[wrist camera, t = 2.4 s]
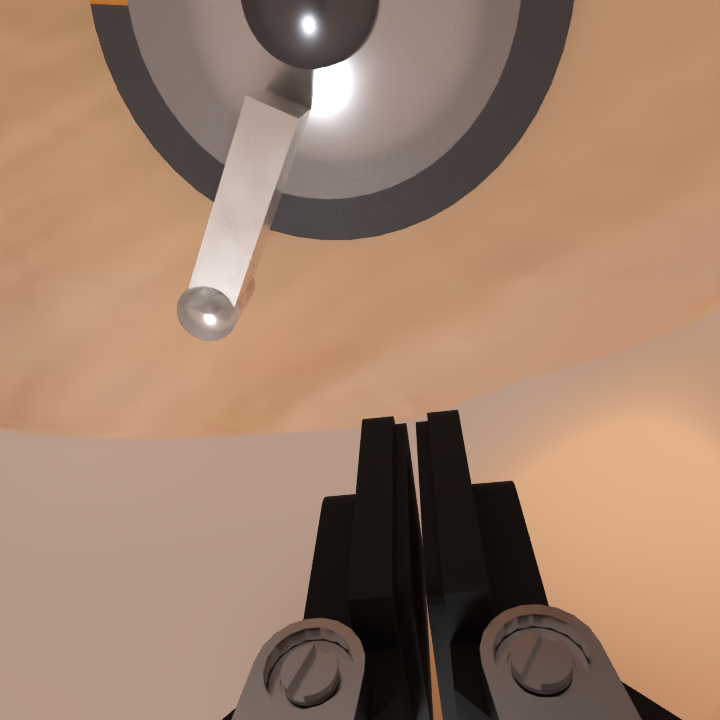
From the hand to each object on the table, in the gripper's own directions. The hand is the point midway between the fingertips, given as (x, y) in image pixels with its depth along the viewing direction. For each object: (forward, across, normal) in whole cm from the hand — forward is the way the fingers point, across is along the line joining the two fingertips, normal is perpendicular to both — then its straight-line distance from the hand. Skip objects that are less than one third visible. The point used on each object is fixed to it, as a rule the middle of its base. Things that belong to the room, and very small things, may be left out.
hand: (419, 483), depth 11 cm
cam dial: (+14, +3, -7) cm, 16 cm away
